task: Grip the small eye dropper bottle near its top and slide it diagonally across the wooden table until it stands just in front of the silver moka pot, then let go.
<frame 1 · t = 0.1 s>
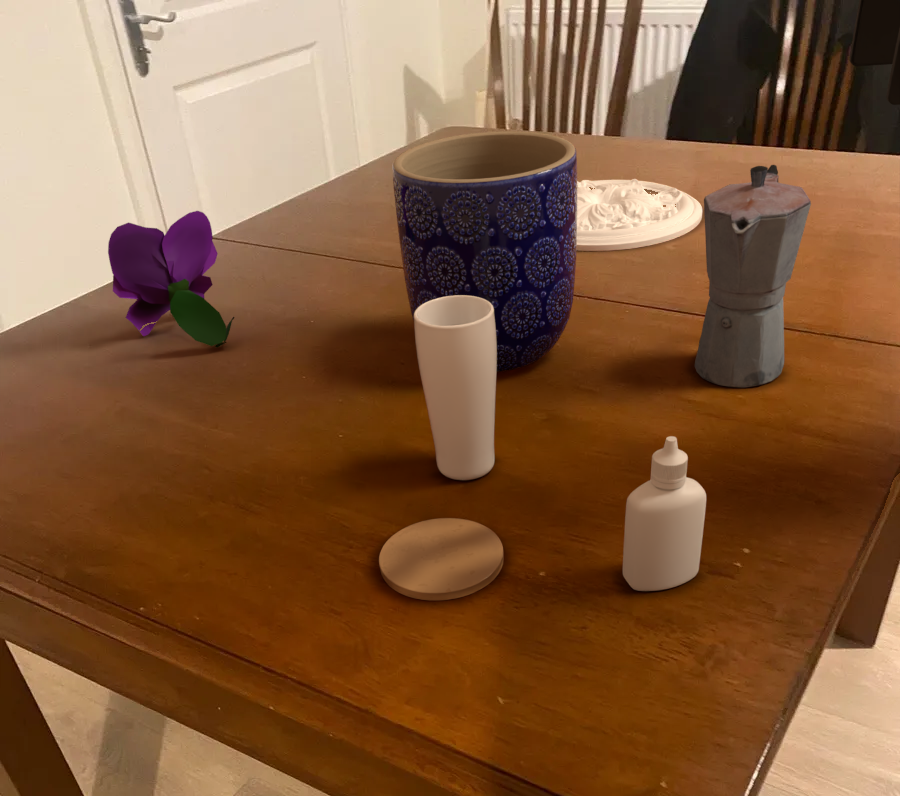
hand: (897, 81, 50), 32 cm above the table, tool pointing down, fingers open, 9 cm apart
flower: (198, 338, 113), on the table
cork trivet: (441, 561, 74), on the table
eye dropper bottle: (659, 578, 70), on the table
drinking glass: (466, 469, 85), on the table
planter: (494, 352, 103), on the table
moka pot: (736, 369, 96), on the table
ceiling medallion: (604, 218, 136), on the table
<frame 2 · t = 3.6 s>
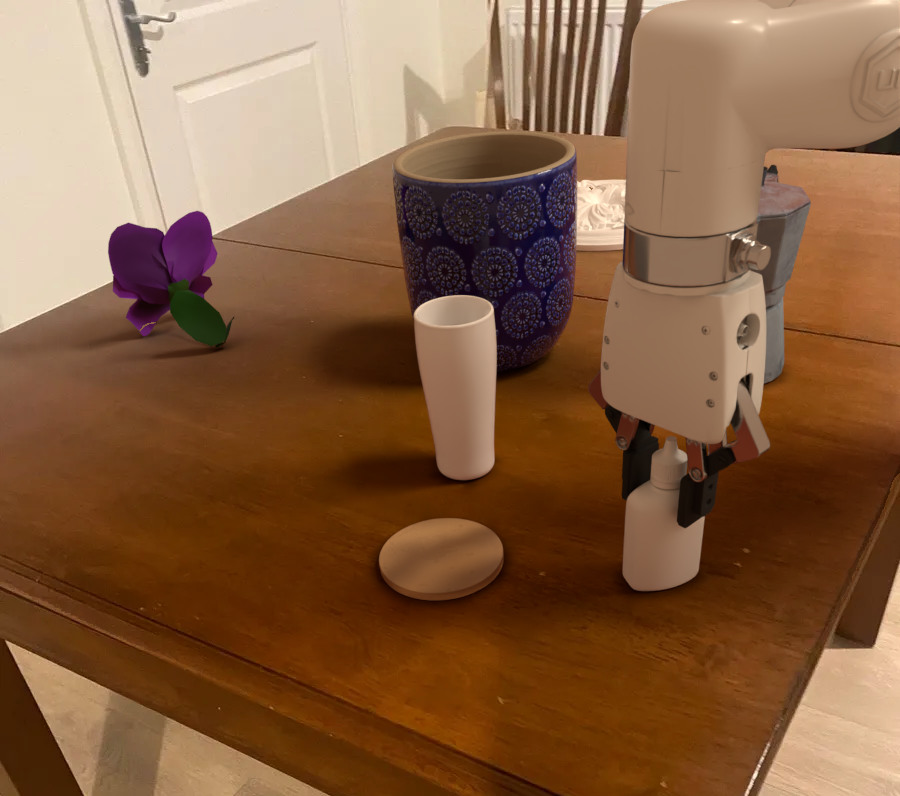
hand: (665, 503, 66), 7 cm above the table, tool pointing down, fingers closed on eye dropper bottle, 4 cm apart
eye dropper bottle: (659, 578, 70), on the table, touching gripper
everything else where it was.
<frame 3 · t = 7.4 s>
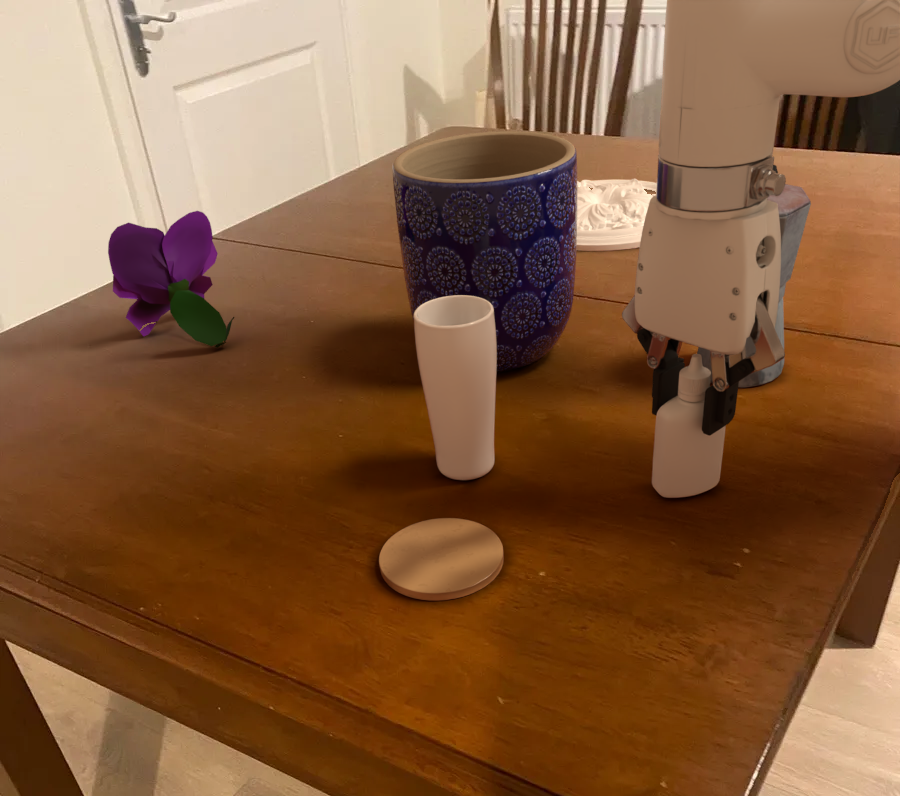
hand: (691, 416, 75), 7 cm above the table, tool pointing down, fingers closed on eye dropper bottle, 4 cm apart
eye dropper bottle: (684, 488, 79), on the table, touching gripper
everything else where it was.
when the fingers open (7 cm above the table, at t = 11.3 s): eye dropper bottle stays where it is, on the table.
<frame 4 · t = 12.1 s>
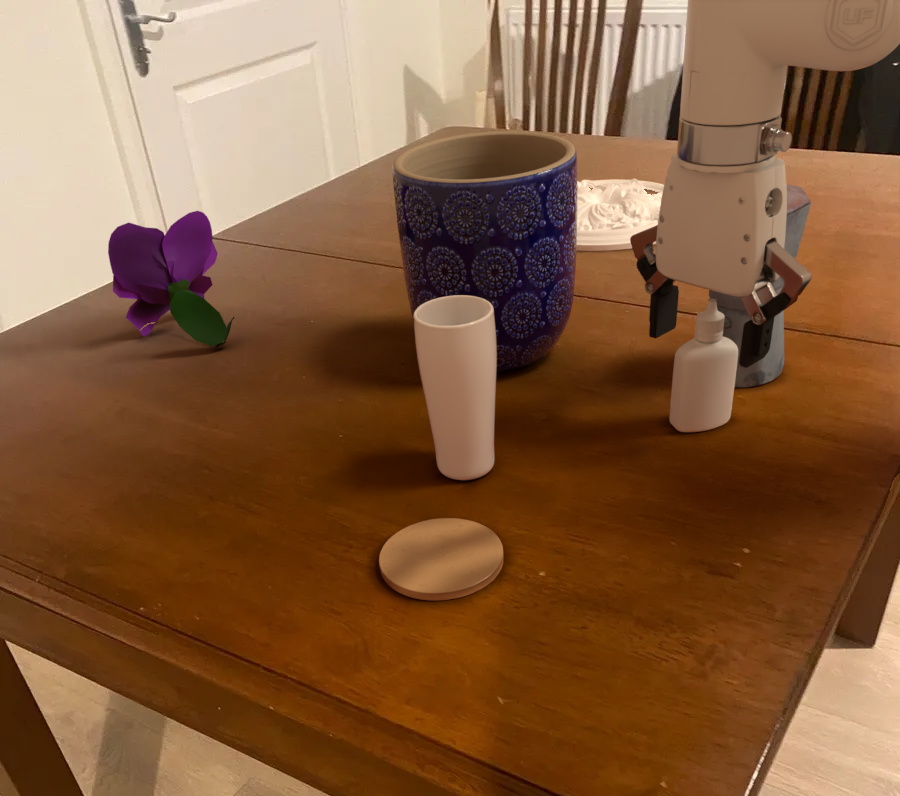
hand: (705, 346, 82), 8 cm above the table, tool pointing down, fingers open, 9 cm apart
eye dropper bottle: (699, 424, 87), on the table
everything else where it was.
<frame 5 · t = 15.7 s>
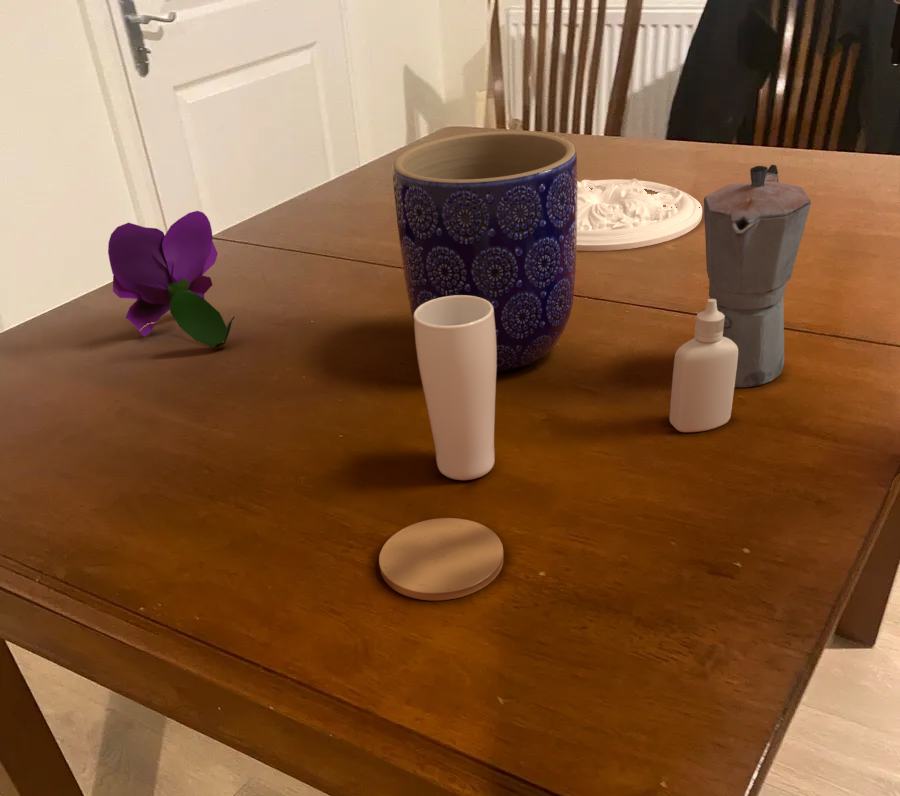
nothing on the table moved.
at the end: eye dropper bottle inside the target area on the table beside the moka pot (2.1 cm from its centre), on the table; eye dropper bottle tilted 0°; eye dropper bottle moved 24.2 cm from its start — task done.
